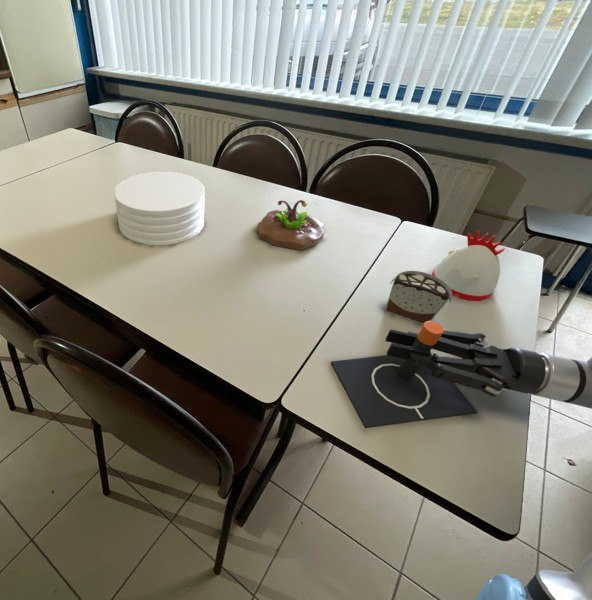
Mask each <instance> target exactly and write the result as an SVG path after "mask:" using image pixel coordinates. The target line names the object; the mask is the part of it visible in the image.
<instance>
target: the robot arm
mask: <svg viewBox="0 0 592 600" xmlns="http://www.w3.org/2000/svg"><path fill="white" fill-rule="evenodd" d="M418 333H419V332H418ZM418 333H417V332H413V331H407V332H406V331H401V330H397V329H389V331H388V333H387V335H386V337H385V342H387V343H390V344H389V345H390V346H389V347H388V349H387V351H386V355H388V356H393V357H397V358H402V359H406V360H408V361H409V362H411V363H415V364H419V365H424V366H427V368H429V369H431V371H432V376H433V377H435V378H439V379H442V380H446V381H449V382H452V383H455V384H456V385H460V386H462V387H467V388H470V389H473V390H477V391H480V392H482V393H484V394H486V395H487V396H489V397H491V398H496V397H497V396H498V395H499V393H501V392H502V391H503V389H505V390H508V391H513V392H518V393H521V394H527V395H528V394H530V395H532V396H536V397H539V398H545V399H549V400H553V401H557V402H562V403H567V404H570V405H574V406H579V407H583V408H587V409H591V410H592V356H591V357H590V358H589V359H587V360H586V361H584V360H578V359H572V358H567V357H563V356H558V355H553V354H548V353H545V352H537V351H533V350H528V349H523V348H518V347H509V348H503V349H502V348H500V347H498V346H495V345H491V344H489V343H487V341H486V340H485V339H486V335H485V334H484V333H481V332H479V333H467V332H461V331H454V330H447V329H444V332H443V334H442V335H441V337H440V338H439V340H438V341H437V343H436V344H435V345H434V346H433V348H432V349H431V351H432V350H434V351H437V352H441V353H444V354H447V355H450V356H443V355H438V354H437V352H434V353H433V354H432V352H431V351H427V350H423V349H418V348H414V347H411V346H412V344H413V342H414V341H415V339H416V337H417V335H418ZM430 355H432V357H430ZM451 356H452V357H451ZM453 356H454V357H453ZM442 372H444V373H442ZM475 600H592V551H590V552H589V554H588V555H587V556H586V557H585V558H584V559H583V561H582V562H581V563H580V564H579V565H578V567H577V568H575V570H574V571H567V572H566V571H560V570H559V571H558V570H557V571H556V570H551V569H540V570H538V571H537V572H536V573H535V574H534V576H533V577H532V578H531V579H530V580H529V581H528V583H526V585H523V584H522V583H521V581H520V580H519V579H517V578H516V577H511V576H509V575H507V574H505V573H499V574H496V575H494V576H493V578H490V579H489V580H487V581H486V583H485V584H484V585H483V587H482V588H481V590H480V591H479V592H478V595H477V596H476V598H475Z"/></svg>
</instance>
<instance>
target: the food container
mask: <svg viewBox="0 0 592 600" xmlns="http://www.w3.org/2000/svg"><path fill="white" fill-rule="evenodd" d="M391 284H392V286H391V289H390V293H389V296H388V299H387V302H386V306H385V308H384V313H388V314H390V315H394V316H396V317H400V318H402V319H405V320H407V321H410V322H414V323H415V324H416V323H417V324H419V325H421V326H423V324H424V323H425V322H427V321H433V320H434V319H435V317H436V316H437V315H438V313H439V312H440V311H441V310H442V309H443V307H444V306H445V305H446V304H447V302H448V301H449V304H451V302H452V299H453V296H452V291H451V289H450V287H449V286H448V285H447V284H446V283H445V282H444V281H442V280H441V279H439V278H437V277H435V276H433V275H432V273H429V272H428V273H427V272H424V271H419V270H405V271H402V272H399V273H397V275H395V276H394V277H393V278H392V280H391V281H390V282H389V285H391Z"/></svg>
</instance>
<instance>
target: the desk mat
mask: <svg viewBox="0 0 592 600" xmlns="http://www.w3.org/2000/svg"><path fill="white" fill-rule="evenodd" d="M432 355H433V354H431V355H430V357H432ZM402 361H403V359H402V358H397V357H393V356H388V355H387V354H385V355H377V356H368V357H359V358H358V357H357V358H349V359H342V360H339V359H338V360H333V361H332V360H331V361H330V365H331V366H332V368H333V370H334V373H335V374H336V375H337V377H338V379H339V381H340V383H341V385H342V388H343V389H344V391H345V392H346V395H347V396H348V398H349V400H350V402H351V403H352V406H353V408H354V410H355V412H356V413H357V415H358V417H359V419H360V421H361V424H362V425H363V426H364V428H365V429H366V428H374V427H381V426H389V425H396V424H404V423H412V422H419V421H427V420H428V421H429V420H434V419H443V418H451V417H458V416H466V415H473V414H477V413H478V410H477V409H476V408H475V406H474V405H473V404H472V403H471V402H470V400H469V399H468V398H467V396H466V395H465V393H464V392H463V391H462V390H461V389H460V388H459V387H458V385H457V384H456V383H452V382H449V381H446V380H442V379H439V378H435V377H433V376H432V371H431V369H429V368H427V366H424V365H421V366H420V368H419V369H418V371H417V372H416V374H415V375H414V377H413V378H410V379H408V378H404V377H402V376H401V375H400V374H399V373H398V368H399V366H400V364H401V363H402ZM442 373H444V372H442Z"/></svg>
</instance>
